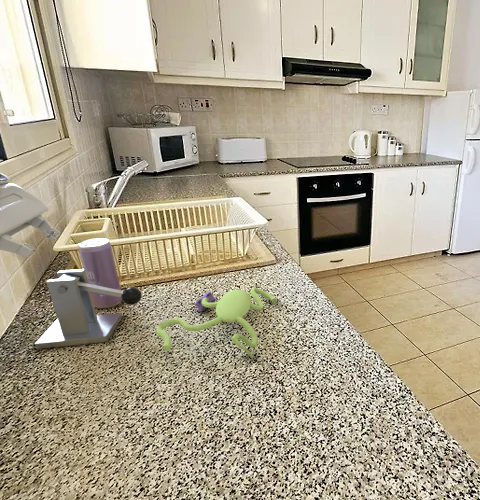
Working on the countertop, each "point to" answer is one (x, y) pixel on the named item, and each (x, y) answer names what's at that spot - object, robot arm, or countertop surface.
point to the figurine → (223, 315)
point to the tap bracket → (75, 315)
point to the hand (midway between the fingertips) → (45, 244)
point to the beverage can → (100, 270)
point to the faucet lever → (110, 291)
